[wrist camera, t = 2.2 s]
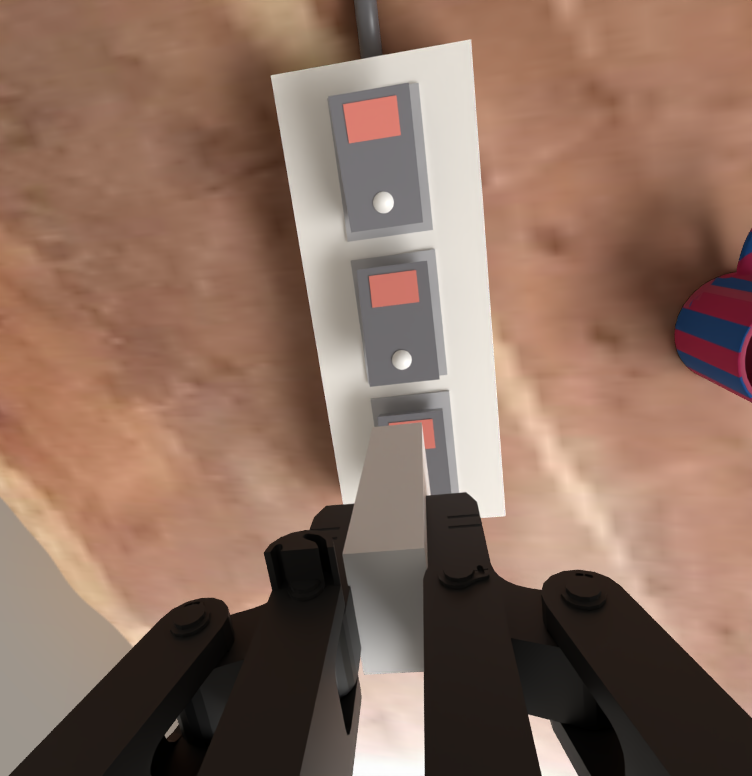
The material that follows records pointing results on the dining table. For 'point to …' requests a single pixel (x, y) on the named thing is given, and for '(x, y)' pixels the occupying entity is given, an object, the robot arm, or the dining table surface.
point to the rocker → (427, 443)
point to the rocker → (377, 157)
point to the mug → (720, 328)
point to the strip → (399, 255)
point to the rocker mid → (398, 324)
